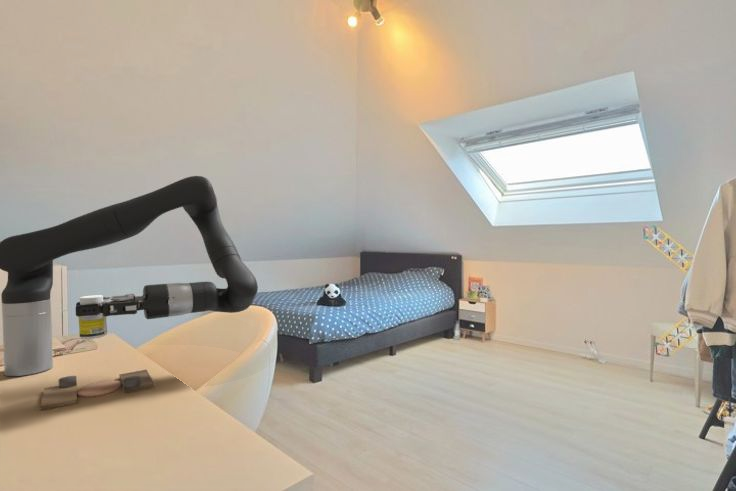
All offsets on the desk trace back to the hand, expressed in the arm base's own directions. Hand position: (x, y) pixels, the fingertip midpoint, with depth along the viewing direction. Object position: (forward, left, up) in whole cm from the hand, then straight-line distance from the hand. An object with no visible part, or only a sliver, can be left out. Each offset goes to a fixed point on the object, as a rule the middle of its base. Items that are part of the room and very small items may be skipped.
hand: (76, 309), depth 83 cm
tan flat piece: (-1, +4, -18) cm, 18 cm away
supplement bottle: (0, +3, -6) cm, 7 cm away
